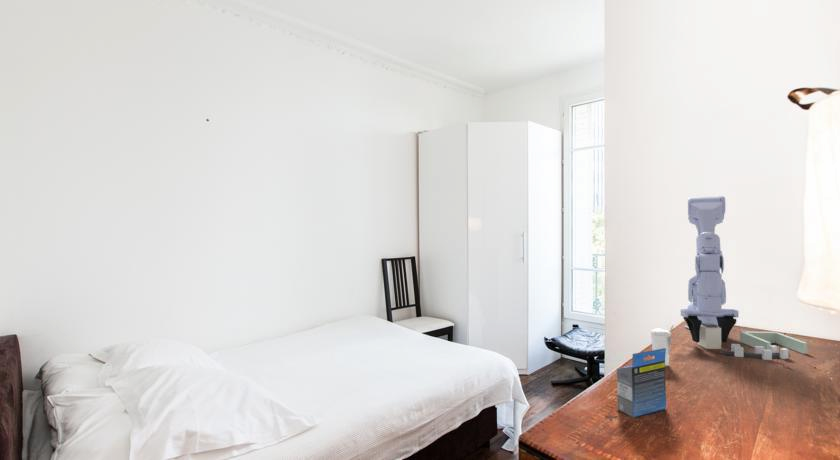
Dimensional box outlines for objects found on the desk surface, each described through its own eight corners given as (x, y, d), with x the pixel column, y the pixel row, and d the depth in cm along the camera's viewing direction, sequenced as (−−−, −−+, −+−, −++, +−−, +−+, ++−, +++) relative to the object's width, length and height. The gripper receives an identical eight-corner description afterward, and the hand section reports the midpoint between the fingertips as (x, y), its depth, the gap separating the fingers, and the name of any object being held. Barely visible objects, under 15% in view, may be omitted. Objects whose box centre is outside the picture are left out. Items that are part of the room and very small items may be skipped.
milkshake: (678, 367, 98) (678, 327, 98) (657, 367, 98) (657, 328, 98) (667, 360, 103) (667, 323, 102) (647, 361, 103) (646, 323, 103)
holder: (739, 341, 117) (739, 331, 117) (776, 341, 116) (776, 331, 116) (767, 353, 107) (767, 342, 107) (807, 354, 106) (807, 343, 106)
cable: (719, 352, 108) (719, 349, 108) (786, 353, 106) (786, 350, 106) (729, 357, 104) (729, 354, 104) (798, 358, 102) (798, 355, 102)
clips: (727, 352, 108) (727, 343, 108) (775, 353, 107) (775, 344, 107) (741, 359, 103) (741, 350, 102) (793, 360, 101) (793, 350, 101)
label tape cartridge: (649, 401, 81) (649, 342, 80) (667, 409, 77) (666, 347, 77) (616, 409, 78) (615, 347, 77) (633, 418, 74) (632, 354, 74)
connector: (697, 344, 116) (697, 322, 115) (712, 344, 115) (712, 322, 115) (706, 348, 112) (706, 325, 111) (721, 349, 111) (721, 325, 111)
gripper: (690, 297, 110) (690, 345, 110) (746, 297, 108) (746, 346, 109) (676, 292, 117) (676, 338, 117) (728, 292, 115) (729, 338, 116)
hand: (709, 341), depth 113 cm, fingers open, 7 cm apart
